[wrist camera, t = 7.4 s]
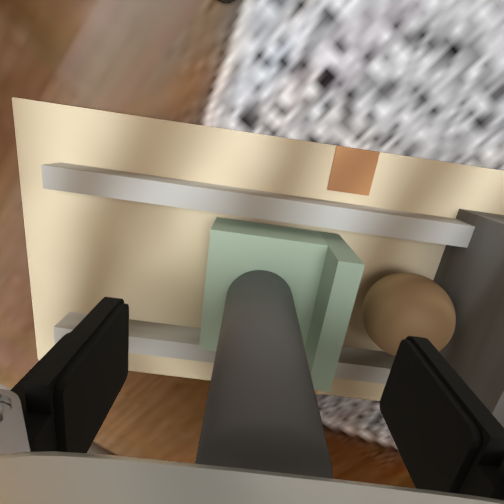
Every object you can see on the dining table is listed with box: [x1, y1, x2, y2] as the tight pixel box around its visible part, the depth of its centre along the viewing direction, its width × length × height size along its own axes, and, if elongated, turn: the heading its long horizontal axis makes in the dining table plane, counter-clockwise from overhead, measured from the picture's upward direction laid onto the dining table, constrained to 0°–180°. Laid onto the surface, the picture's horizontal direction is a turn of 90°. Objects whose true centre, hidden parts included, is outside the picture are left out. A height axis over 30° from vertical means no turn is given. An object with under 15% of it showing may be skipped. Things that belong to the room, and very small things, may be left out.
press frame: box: [12, 97, 504, 428], centre depth 15 cm, size 24×14×8 cm, turn 82°
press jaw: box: [195, 217, 365, 479], centre depth 12 cm, size 6×6×10 cm
